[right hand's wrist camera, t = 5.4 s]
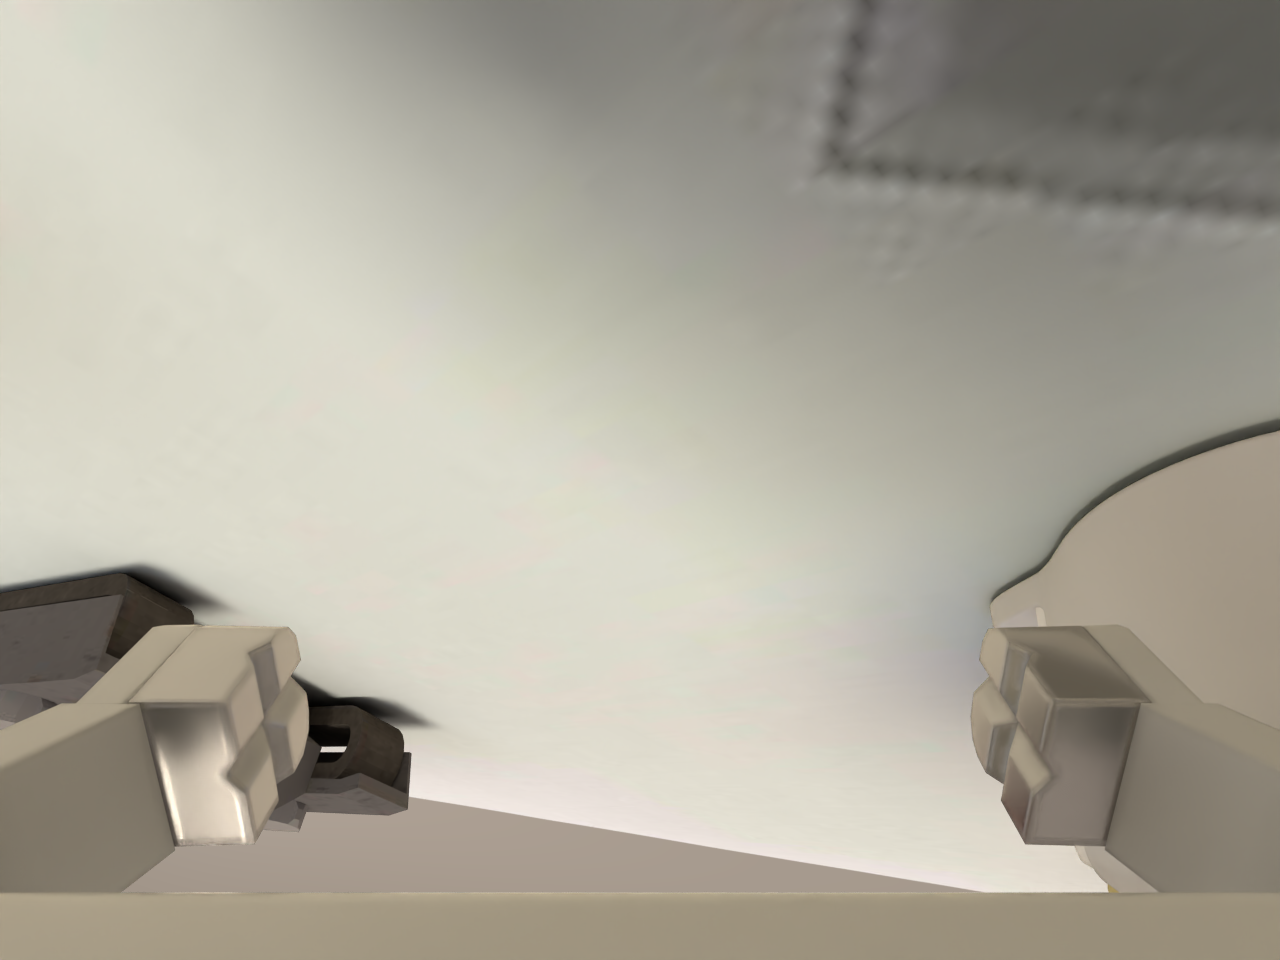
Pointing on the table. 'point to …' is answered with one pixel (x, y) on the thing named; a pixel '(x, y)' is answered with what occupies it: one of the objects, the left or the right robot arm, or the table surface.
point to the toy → (127, 610)
